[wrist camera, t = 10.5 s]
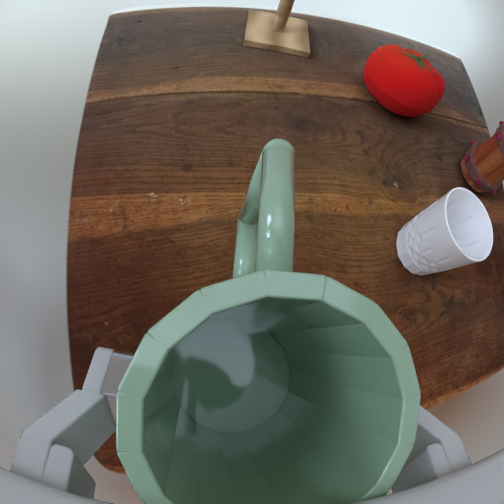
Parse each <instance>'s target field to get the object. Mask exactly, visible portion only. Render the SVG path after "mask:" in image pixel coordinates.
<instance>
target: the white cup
mask: <svg viewBox="0 0 504 504" xmlns="http://www.w3.org/2000/svg"><path fill="white" fill-rule="evenodd" d="M492 245H493V230H492V225H491V221H490V218H489V215H488V213H487V211H486V209H485V207H484V205H483V204H482V202H481V201H480V200H479V199H478V197H477V196H476V195H475V194H473V193H472V192H471V191H469V190H467V189H465V188H462V187H457V188H454V189H452V190H451V191H449V192H448V193H447V194H445V195H444V196H443V197H441V198H440V199H438V200H437V201H436V202H434V203H433V204H431V205H430V206H429V207H427V208H426V209H425V210H423V211H422V212H421V213H419V214H418V215H417V216H415V217H414V218H413V219H412V220H411V221H409V222H408V223H406V224H405V225H404V226H403V227H402V228H401V229H400V231H399V232H398V235H397V240H396V248H397V253H398V257H399V259H400V260H401V262H402V264H403V266H404V267H405V268H406V269H407V270H409V271H410V272H411V273H412V274H416V275H421V276H423V275H427V274H430V273H435V272H442V271H446V270H451V269H455V268H458V267H462V266H466V265H469V264H473V263H476V262H480V261H483V260H485V259H486V258H487V257H488V256H489V254H490V252H491V249H492Z"/></svg>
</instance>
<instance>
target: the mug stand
mask: <svg viewBox="0 0 504 504" xmlns="http://www.w3.org/2000/svg"><path fill="white" fill-rule="evenodd" d="M294 1H295V0H280V3H279V6H278V9H277V13H276V14H273V13H268V12H262V11H256V10H250V9H249V12H248V18H247V24H246V31H245V37H244V44H243V46H250V47H256V48H262V49H268V50H273V51H278V52H283V53H288V54H293V55H297V56H302V57H306V58H308V57H309V55H310V45H309V35H308V26H307V21H306V20H301V19H297V18H293V17H289V15H290V12H291V10H292V6H293V4H294Z"/></svg>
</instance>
